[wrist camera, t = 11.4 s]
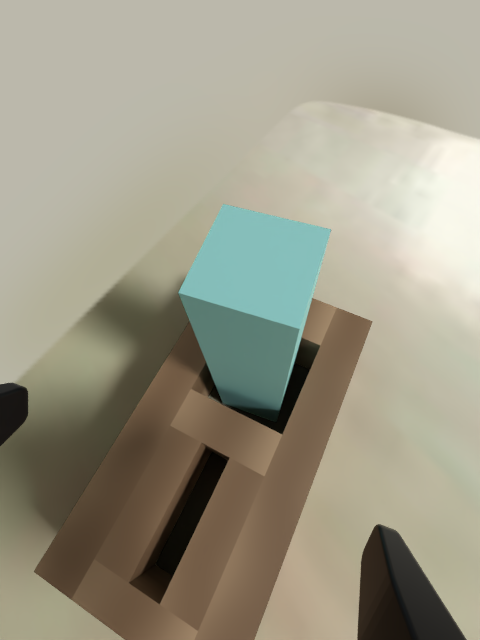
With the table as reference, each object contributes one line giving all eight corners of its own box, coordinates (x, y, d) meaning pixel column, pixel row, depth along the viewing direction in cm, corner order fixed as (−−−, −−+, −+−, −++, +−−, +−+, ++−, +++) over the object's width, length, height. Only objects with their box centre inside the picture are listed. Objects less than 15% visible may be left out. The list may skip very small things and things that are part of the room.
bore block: (78, 555, 18) (33, 571, 14) (229, 297, 24) (225, 264, 21) (233, 664, 16) (226, 714, 12) (354, 349, 22) (372, 321, 19)
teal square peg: (276, 422, 20) (299, 329, 9) (222, 403, 21) (178, 292, 9) (292, 370, 22) (331, 229, 10) (241, 353, 22) (223, 203, 11)
